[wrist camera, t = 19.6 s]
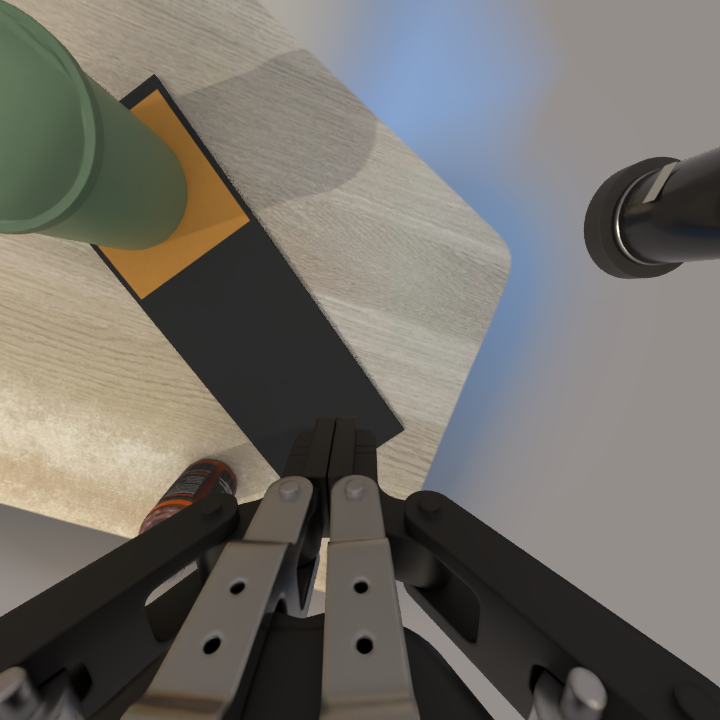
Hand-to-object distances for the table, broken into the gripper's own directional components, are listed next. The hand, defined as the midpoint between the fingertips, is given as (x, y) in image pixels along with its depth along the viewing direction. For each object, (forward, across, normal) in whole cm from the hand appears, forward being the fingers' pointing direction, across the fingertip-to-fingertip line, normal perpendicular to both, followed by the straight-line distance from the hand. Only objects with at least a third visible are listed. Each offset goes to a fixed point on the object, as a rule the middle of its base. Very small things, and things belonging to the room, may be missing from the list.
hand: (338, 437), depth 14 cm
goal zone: (+23, +19, -11) cm, 32 cm away
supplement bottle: (+20, +16, +18) cm, 31 cm away
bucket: (+23, +20, -12) cm, 33 cm away
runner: (+22, +12, 0) cm, 25 cm away
